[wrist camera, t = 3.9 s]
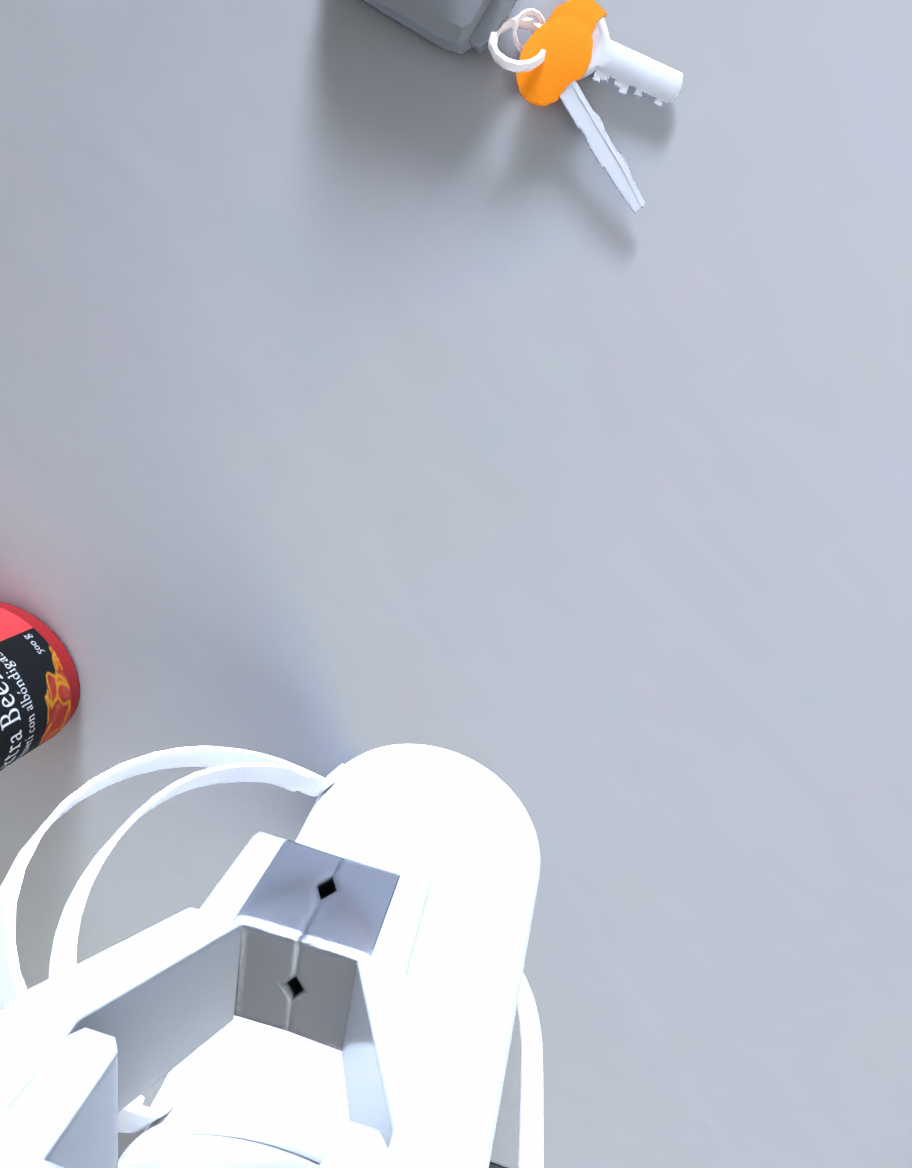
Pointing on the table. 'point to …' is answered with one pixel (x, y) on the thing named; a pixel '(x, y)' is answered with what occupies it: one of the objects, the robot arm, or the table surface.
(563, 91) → the key chain
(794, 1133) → the table surface
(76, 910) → the coffeepot
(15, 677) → the canned food
